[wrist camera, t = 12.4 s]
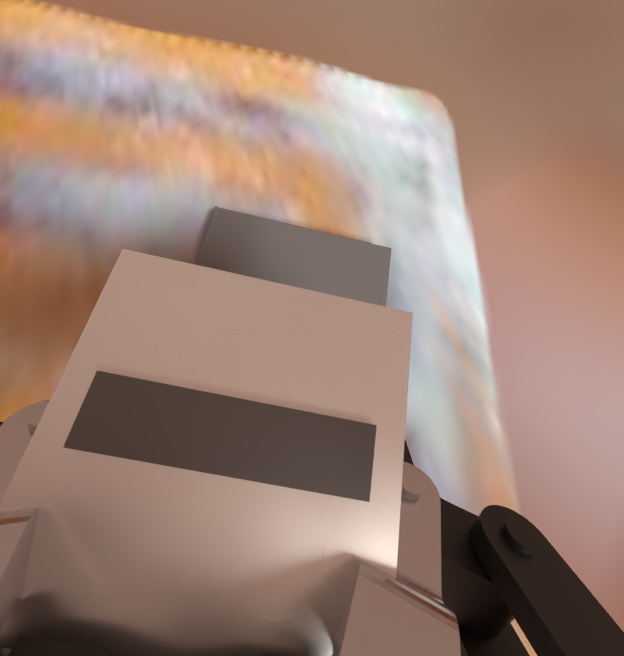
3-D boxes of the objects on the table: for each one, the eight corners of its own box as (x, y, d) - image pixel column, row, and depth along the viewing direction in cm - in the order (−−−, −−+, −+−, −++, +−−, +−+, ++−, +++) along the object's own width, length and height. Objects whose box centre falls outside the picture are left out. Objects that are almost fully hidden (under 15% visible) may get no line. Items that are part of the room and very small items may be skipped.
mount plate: (45, 729, 12) (-37, 838, 9) (220, 226, 22) (211, 188, 18) (326, 761, 13) (345, 873, 10) (381, 263, 22) (400, 233, 19)
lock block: (184, 486, 13) (-81, 648, 3) (218, 370, 14) (118, 243, 5) (301, 507, 13) (394, 711, 3) (321, 391, 15) (416, 309, 5)
